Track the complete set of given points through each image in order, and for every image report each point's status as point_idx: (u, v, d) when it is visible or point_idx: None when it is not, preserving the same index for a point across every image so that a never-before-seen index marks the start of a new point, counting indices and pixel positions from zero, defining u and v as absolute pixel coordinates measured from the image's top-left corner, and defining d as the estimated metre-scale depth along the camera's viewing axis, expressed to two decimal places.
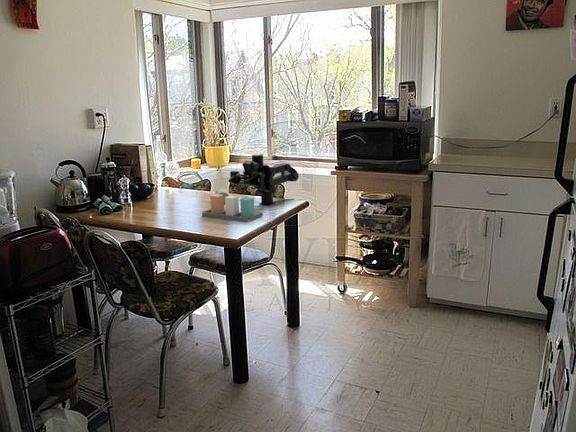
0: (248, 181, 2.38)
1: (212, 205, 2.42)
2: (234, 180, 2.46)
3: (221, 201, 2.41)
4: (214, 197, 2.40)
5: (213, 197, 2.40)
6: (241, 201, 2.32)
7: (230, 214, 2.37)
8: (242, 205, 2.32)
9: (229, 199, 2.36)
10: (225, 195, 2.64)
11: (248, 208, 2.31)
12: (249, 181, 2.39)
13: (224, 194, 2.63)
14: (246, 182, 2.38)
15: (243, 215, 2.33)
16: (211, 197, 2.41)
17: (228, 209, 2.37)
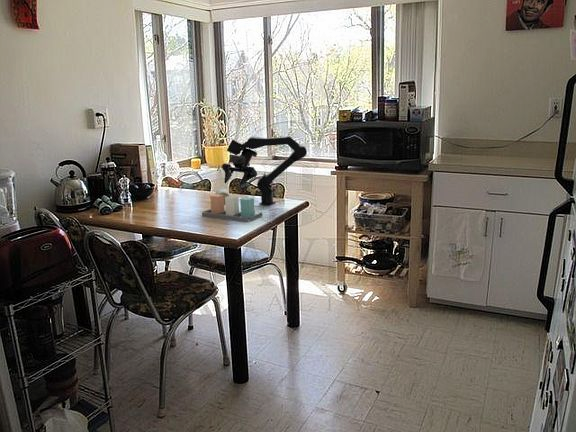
0: (243, 181, 2.48)
1: (212, 205, 2.42)
2: (229, 175, 2.55)
3: (221, 201, 2.41)
4: (214, 197, 2.40)
5: (213, 197, 2.40)
6: (241, 201, 2.32)
7: (230, 214, 2.37)
8: (242, 205, 2.32)
9: (229, 199, 2.36)
10: (225, 195, 2.64)
11: (248, 208, 2.31)
12: (244, 180, 2.49)
13: (224, 194, 2.63)
14: (242, 183, 2.48)
15: (243, 215, 2.33)
16: (211, 197, 2.41)
17: (228, 209, 2.37)
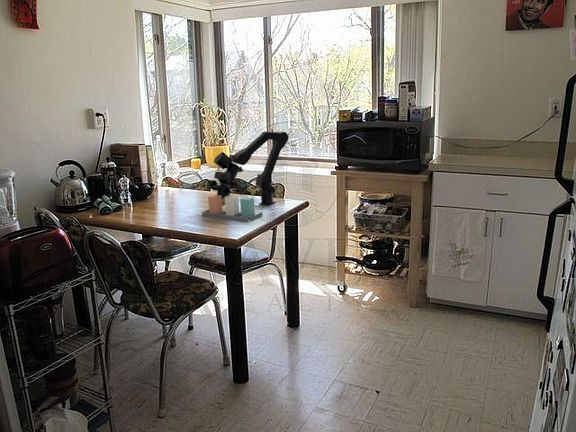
0: (221, 196, 2.43)
1: (210, 206, 2.41)
2: None
3: (219, 202, 2.40)
4: (212, 198, 2.39)
5: (211, 198, 2.39)
6: (241, 201, 2.32)
7: (230, 214, 2.37)
8: (242, 205, 2.32)
9: (229, 199, 2.36)
10: (227, 195, 2.64)
11: (248, 208, 2.31)
12: (222, 195, 2.44)
13: None
14: None
15: (243, 215, 2.33)
16: (209, 198, 2.40)
17: (228, 209, 2.37)
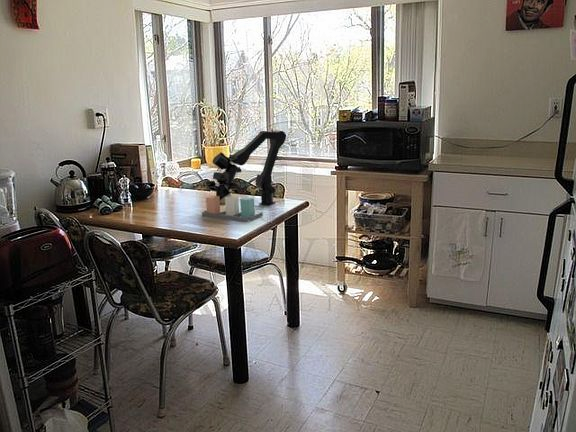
0: (220, 197, 2.42)
1: (208, 207, 2.39)
2: None
3: (217, 202, 2.39)
4: (210, 198, 2.38)
5: (209, 198, 2.38)
6: (241, 201, 2.32)
7: (230, 214, 2.37)
8: (242, 205, 2.32)
9: (229, 199, 2.36)
10: (227, 195, 2.64)
11: (248, 208, 2.31)
12: (220, 196, 2.43)
13: None
14: None
15: (243, 215, 2.33)
16: (207, 198, 2.38)
17: (228, 209, 2.37)
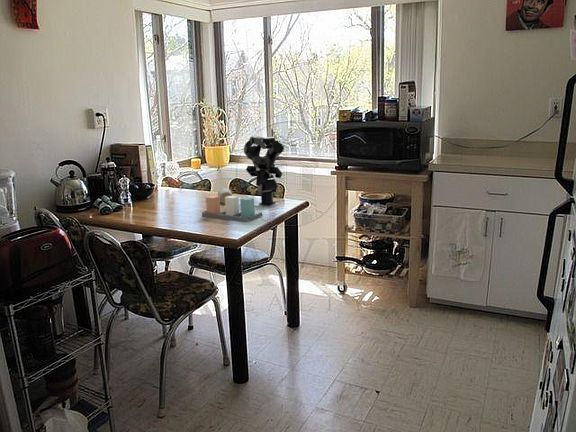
0: (260, 181, 2.43)
1: (208, 207, 2.39)
2: None
3: (217, 202, 2.39)
4: (210, 198, 2.38)
5: (209, 198, 2.38)
6: (241, 201, 2.32)
7: (230, 214, 2.37)
8: (242, 205, 2.32)
9: (229, 199, 2.36)
10: (228, 195, 2.64)
11: (248, 208, 2.31)
12: (261, 180, 2.43)
13: (227, 194, 2.63)
14: (259, 184, 2.43)
15: (243, 215, 2.33)
16: (207, 198, 2.38)
17: (228, 209, 2.37)
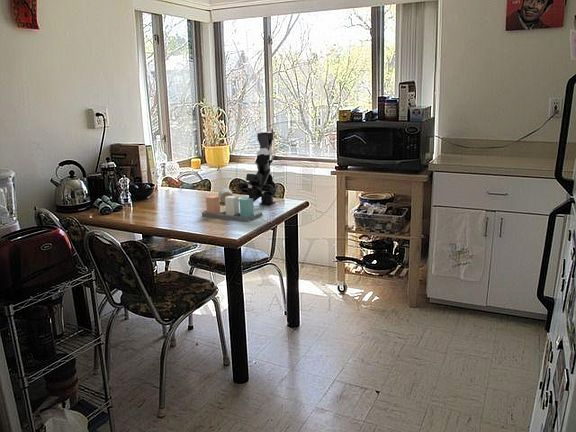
0: (253, 199, 2.35)
1: (208, 207, 2.39)
2: None
3: (217, 202, 2.39)
4: (210, 198, 2.38)
5: (209, 198, 2.38)
6: (240, 201, 2.32)
7: (230, 214, 2.37)
8: (241, 205, 2.32)
9: (229, 199, 2.36)
10: (229, 195, 2.64)
11: (247, 209, 2.31)
12: (253, 198, 2.35)
13: (228, 194, 2.64)
14: None
15: (242, 215, 2.33)
16: (207, 198, 2.38)
17: (228, 209, 2.37)
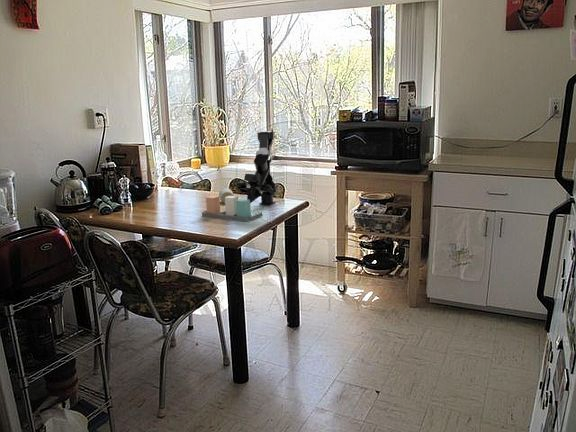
0: (251, 199, 2.34)
1: (208, 207, 2.39)
2: None
3: (217, 202, 2.39)
4: (210, 198, 2.38)
5: (209, 198, 2.38)
6: (237, 202, 2.29)
7: (230, 214, 2.37)
8: (238, 207, 2.30)
9: (229, 199, 2.36)
10: (229, 195, 2.64)
11: (244, 210, 2.28)
12: (252, 198, 2.34)
13: (228, 194, 2.64)
14: (250, 202, 2.34)
15: None
16: (207, 198, 2.38)
17: (228, 209, 2.37)
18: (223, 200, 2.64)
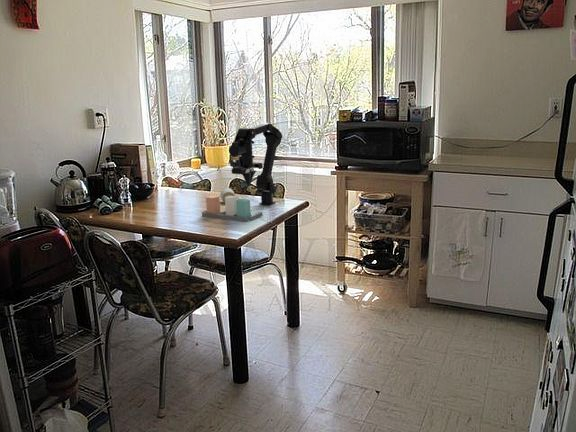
0: (246, 181, 2.46)
1: (208, 207, 2.39)
2: None
3: (217, 202, 2.39)
4: (210, 198, 2.38)
5: (209, 198, 2.38)
6: (237, 202, 2.29)
7: (230, 214, 2.37)
8: (238, 207, 2.30)
9: (229, 199, 2.36)
10: (231, 195, 2.64)
11: (244, 210, 2.28)
12: (246, 180, 2.46)
13: (230, 194, 2.64)
14: (247, 183, 2.47)
15: None
16: (207, 198, 2.38)
17: (228, 209, 2.37)
18: (224, 200, 2.64)
